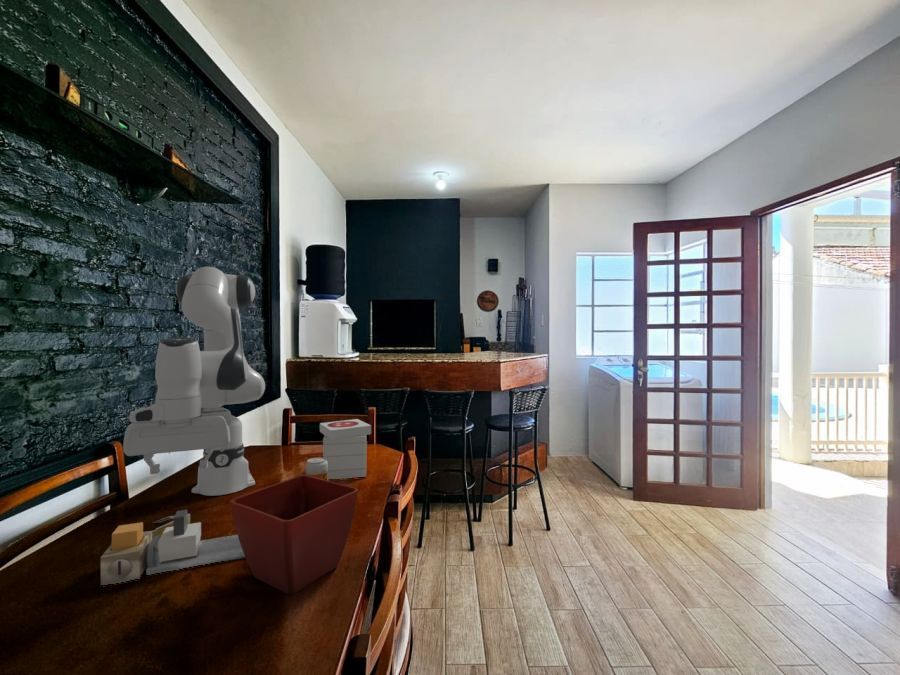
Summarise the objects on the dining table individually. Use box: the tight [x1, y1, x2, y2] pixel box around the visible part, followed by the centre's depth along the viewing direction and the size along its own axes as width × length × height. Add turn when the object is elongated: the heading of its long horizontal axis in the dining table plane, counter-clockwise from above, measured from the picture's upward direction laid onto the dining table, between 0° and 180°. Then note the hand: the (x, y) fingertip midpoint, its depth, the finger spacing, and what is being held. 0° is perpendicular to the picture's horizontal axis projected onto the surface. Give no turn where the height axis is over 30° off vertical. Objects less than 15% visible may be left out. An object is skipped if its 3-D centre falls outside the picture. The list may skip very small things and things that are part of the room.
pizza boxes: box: [319, 418, 372, 480], centre depth 162 cm, size 19×30×18 cm, turn 11°
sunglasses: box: [151, 513, 191, 540], centre depth 108 cm, size 14×15×5 cm
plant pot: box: [229, 474, 359, 595], centre depth 90 cm, size 19×19×17 cm
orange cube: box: [111, 521, 144, 551], centre depth 91 cm, size 4×4×4 cm
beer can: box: [305, 456, 329, 481], centre depth 122 cm, size 6×6×15 cm
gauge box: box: [100, 530, 153, 586], centre depth 91 cm, size 11×6×6 cm, turn 23°
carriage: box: [158, 509, 202, 562], centre depth 95 cm, size 7×7×9 cm
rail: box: [145, 534, 246, 576], centre depth 98 cm, size 8×25×6 cm, turn 113°
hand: (179, 470), depth 95 cm, fingers open, 8 cm apart
